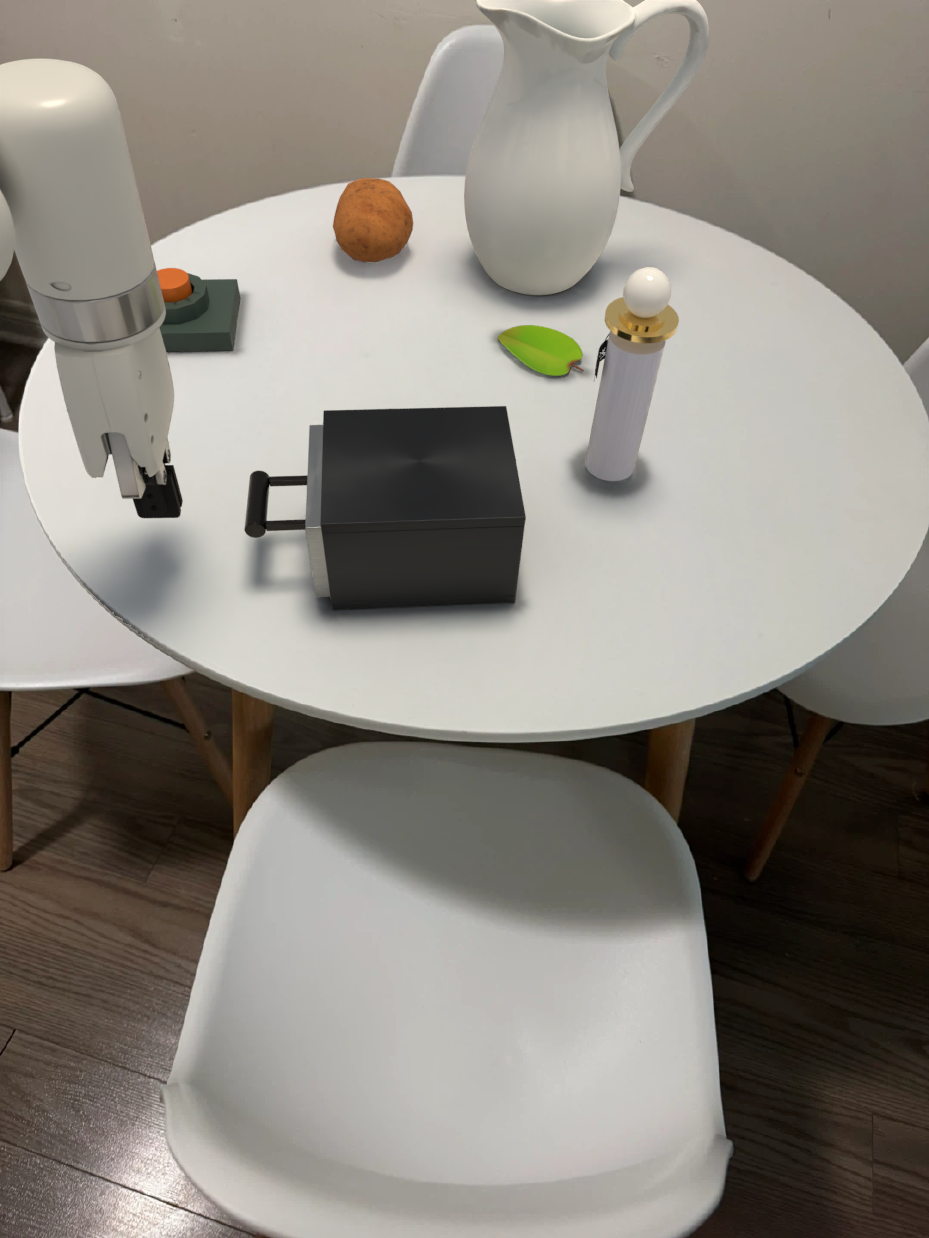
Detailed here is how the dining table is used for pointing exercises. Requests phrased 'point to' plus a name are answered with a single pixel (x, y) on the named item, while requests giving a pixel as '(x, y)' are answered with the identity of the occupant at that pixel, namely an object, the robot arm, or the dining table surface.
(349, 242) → the potato
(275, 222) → the dining table surface
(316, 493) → the drawer
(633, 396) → the perfume bottle
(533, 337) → the decorative leaf
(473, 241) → the pitcher
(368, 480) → the cabinet
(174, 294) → the button
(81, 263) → the robot arm
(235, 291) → the control block
